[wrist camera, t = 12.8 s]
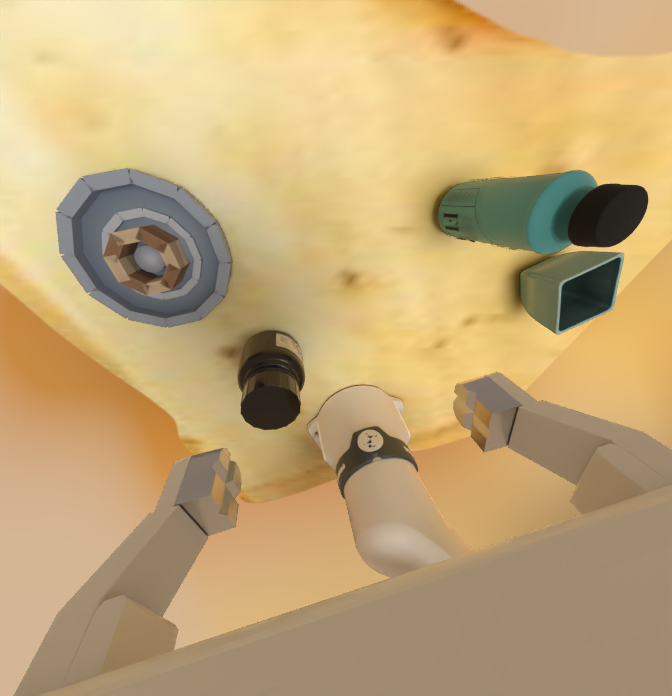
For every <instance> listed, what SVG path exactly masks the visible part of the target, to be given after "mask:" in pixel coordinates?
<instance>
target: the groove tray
mask: <svg viewBox="0 0 672 696" xmlns="http://www.w3.org/2000/svg"><path fill="white" fill-rule="evenodd" d="M82 177H83V178H79V180H78V181H77V182H76V184H75V185H74V186H73V188H72V189H71V190H70V192H69V193H68V194H67V196H66V197H65V198H64V200H63V201H62V202H61V204H60V205H59V206H58V208H57V209H56V210H58V211H59V212H56V221H57V231H58V241H59V251H60V254H64V256H61V257H62V258H63V260H64V261H65V263H66V264H67V266H68V267H69V268H70V270H71V271H72V273H73V274H74V276H75V277H76V278H77V280H78V281H79V283H80V284H81V285H82V287H83V288H84V290H85V291H86V293H89V292H91V293H90V294H89V295H90V296H91V297H93V298H94V299H96V300H98V301H99V302H101V303H102V304H104V305H105V306H107V307H108V308H110V309H112V310H113V311H115V312H116V313H118V314H119V315H121V316H122V317H124V318H127V317H128V320H132V321H137V322H142V323H147V324H152V325H157V326H161V327H167V326H168V327H173V326H177V325H181V324H186V323H190V322H194V321H199V320H201V319H203V318H204V317H205V316H206V315H207V314H208V313H209V312H210V311H211V310H212V309H213V308H214V307H215V306H216V305H217V304H218V303H219V302H220V301H221V300H222V299H223V298H224V297H225V295H226V293H227V289H228V284H229V281H230V277H231V269H232V261H231V260H232V257H231V254H230V249H229V245H228V242H227V239H226V237H225V235H224V232H223V230H222V229H221V227H220V225H219V223H218V222H217V220H216V219H215V218H214V216H213V215H212V214H211V213H210V211H209V210H208V209H207V208H206V207H205V206H204V205H203V204H202V203H201V202H200V201H199V200H197V199H196V198H195V197H194V196H193V195H191V194H190V193H189V192H188V191H187V190H186V189H183V188H182V187H181V186H178V185H176V184H173V183H171V182H168V181H166V180H164V179H161V178H157V177H154V176H151V175H148V174H146V173H143V172H140V171H138V170H133V169H127V168H126V169H121V170H115V171H110V172H104V173H99V174H93V175H88V176H82ZM148 225H155V226H157V227H159V228H161V229H163V230H164V231H166V232H168V233H170V234H171V235H173V236H175V237H177V238H178V239H180V242H181V244H182V246H183V248H184V250H185V253H186V255H187V257H188V259H189V261H190V264H189V266H188V268H187V271H186V273H185V275H184V277H183V280H182V282H180V283H179V284H178V285H177V286H176V287H174V288H173V289H172V290H169V291H165V292H160V293H156V294H151V295H145V294H143V293H140V292H138V291H136V290H134V289H132V288H129V287H127V286H125V285H123V284H121V283H119V282H118V280H117V279H116V277H115V276H114V274H113V272H112V271H111V269H110V268H109V266H108V264H107V263H106V261H105V260H104V258H103V255H104V252H105V249H106V246H107V243H108V240H109V237H110V234H111V233H113V232H118V231H123V230H128V229H133V228H138V227H143V226H148ZM134 258H135V261H136V263H137V264H138V266H139V267H140V268H142V269H143V270H145V271H147V272H151V273H154V274H156V275H158V276H160V275H164V273H165V271H166V268H167V266H166V264H165V262H164V260H163V258H162V256H161V254H160V252H159V251H158V250H156V249H154V248H152V247H150V246H148V245H147V244H145V243H143V242H141V241H140V242H139V243H138V246H137V248H136V251H135V253H134Z"/></svg>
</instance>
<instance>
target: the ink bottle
mask: <svg viewBox="0 0 672 696" xmlns="http://www.w3.org/2000/svg"><path fill="white" fill-rule="evenodd" d="M304 382H305V372H304V365H303V359H302V353H301V349H300V347H299V345H298V343H297V342H296V341H295V340H294V339H293V338H292V337H291V336H289V335H287V334H285V333H282V332H276V331H270V332H263V333H260V334H258V335H256V336H254V337H252V338H251V339H250V340H249V341H248V342H247V343H246V345H245V346H244V349H243V352H242V357H241V361H240V365H239V370H238V385H239V387H240V390H241V391H242V393H243V394H242V400H241V415H242V416H243V418H244V419H245V421H246V422H248V423H249V424H250V425H252V426H253V427H255V428H260V429H263V430H272V429H274V430H276V429H278V428H282V427H285V426H287V425H288V424H290V423H291V422H293V421H294V420H295V419H296V417H297V416H298V414H299V413H300V405H301V401H300V391H301V390H302V388H303V385H304Z"/></svg>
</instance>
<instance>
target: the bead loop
mask: <svg viewBox="0 0 672 696" xmlns="http://www.w3.org/2000/svg"><path fill="white" fill-rule="evenodd" d="M140 241H141V242H143V243H145V244H147V245H148V246H150V247H152V248H154V249H156V250H158V251H159V252H160V254H161V256H162V258H163V260H164V262H165V264H166V266H167V268H166V271H165V273H164V275H160V276H158V275H156V274H154V273H151V272H147V271H145V270H143V269H142V268H140V267H139V266H138V264H137V263H136V261H135V258H134V253H135V251H136V248H137V246H138V243H139V242H140ZM103 258H104V260H105V261H106V263H107V264H108V266H109V268H110V269H111V271H112V272H113V274H114V276H115V277H116V279H117V280H118V282H119V283H121V284H123V285H125V286H127V287H129V288H132V289H134V290H136V291H138V292H140V293H143V294H145V295H151V294H156V293H160V292H165V291H169V290H172V289H173V288H174V287H176V286H177V285H178V284H179V283H180V282H182V280H183V277H184V275H185V273H186V271H187V268H188V266H189V264H190V261H189V259H188V257H187V255H186V253H185V250H184V248H183V246H182V244H181V242H180V239H178V238H177V237H175V236H173V235H171V234H170V233H168V232H166V231H164V230H163V229H161V228H159V227H157V226H155V225H148V226H143V227H138V228H133V229H128V230H123V231H118V232H113V233H111V234H110V237H109V240H108V243H107V246H106V249H105V252H104V255H103Z"/></svg>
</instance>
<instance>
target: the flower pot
mask: <svg viewBox="0 0 672 696" xmlns="http://www.w3.org/2000/svg"><path fill="white" fill-rule="evenodd" d="M623 260H624V253H617V252H595V251H579V252H571V253H566V254H562V255H558V256H555V257H552V258H549V259H547V260H545V261H543V262H540V263H538V264H536V265H534V266H532V267H530V268H528V269H526V270H524V271H522V272H521V273H520V296H521V300H522V303H523V305H524V307H525V309H526V311H527V312H528V313H529V315H530V316H531V317H532V318H534V319H535V320H536V321H538V322H539V323H540V324H542V325H543V326H545V327H546V328H548V329H549V330H551V331H552V332H554V333H555V334H557V335H559V334H561V333H563V332H566V331H568V330H570V329H572V328H574V327H576V326H579V325H581V324H583V323H585V322H588V321H589V320H592V319H594V318H596V317H598V316H600V315H603V314H605V313H607V312H609V311H610V310H612V309H613V307H614V304H615V299H616V294H617V288H618V283H619V279H620V274H621V270H622V265H623Z"/></svg>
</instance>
